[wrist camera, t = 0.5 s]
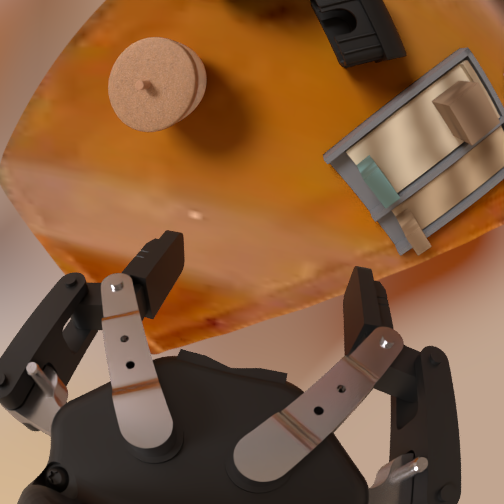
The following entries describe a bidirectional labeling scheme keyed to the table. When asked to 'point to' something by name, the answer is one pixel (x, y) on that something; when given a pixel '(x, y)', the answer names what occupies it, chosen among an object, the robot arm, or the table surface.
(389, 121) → the strip
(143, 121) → the lidded jar
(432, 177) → the tray
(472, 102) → the walnut cube
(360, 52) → the end cap
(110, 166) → the table surface
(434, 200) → the strip
